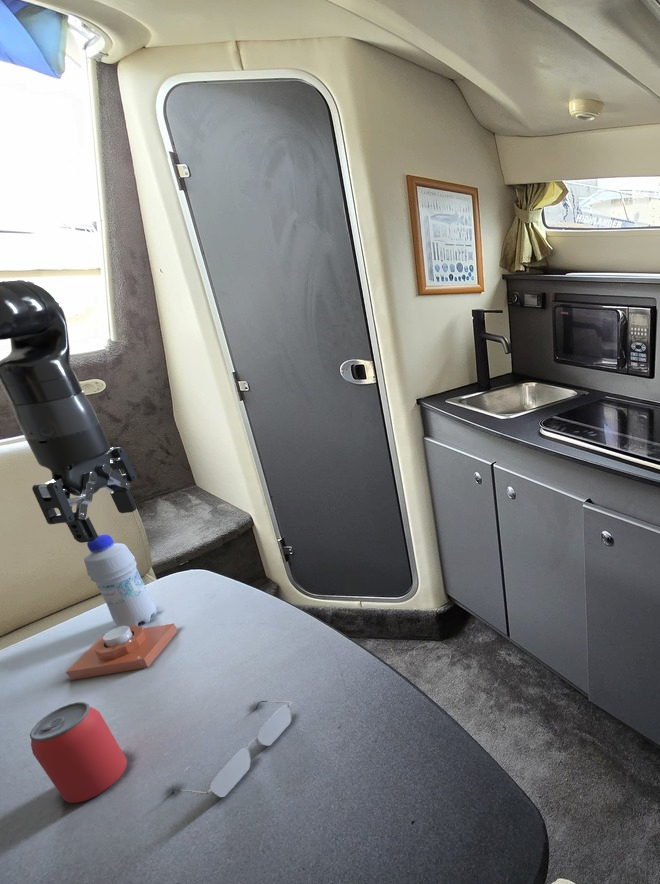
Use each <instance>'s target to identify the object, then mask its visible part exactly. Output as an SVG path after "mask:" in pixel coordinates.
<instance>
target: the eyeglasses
mask: <svg viewBox="0 0 660 884" xmlns="http://www.w3.org/2000/svg"><path fill="white" fill-rule="evenodd" d="M261 703H280V704H281V703H282V705H281V706H280V707H279V708H278V709H276V711H275V712H274V713H273V714H272V715H271V716H270V717H269V718H268V719H267V720H266V721H265V723H264V724H262V726H261V727H260V729H259V730H258V732H257V733H256V737H255V738H253V739H252V740H251V741H250V742H249V743H248V745H247V746H245V747H243V748H241V749H240V750H238V751H237V752H236V753H235V754H234V755H233V756H232V757H231V759H230V760H228V762H227V763H226V764H225V765H224V766H223V767H222V768H221V769H220V770H219V772H218V773H217V774H216V775H215V777H214V778H213V779H212V780H211V782H210V784H209V789H208V790H207V791H199V790H190V789H181V788H178V787H177V788H176V787H173V788H172V793H175V790H176V791H180V792H181V791H183V792H189V793H194V794H201V795H209V794H210V793H213V794H214V795H215V796H217V797H219V798H224V797H226V796H227V795H228V793H230V792H231V791H232V789H233V788H234V787H235V786H236V785H237V784H238V783H239V782H240V780H241V779H242V778H243V777H244V776H245V775H246V773H247V772H248V771H249V770H250V768H251V760H252V759H251V752H250V749H249V747H250V745H251V744H252V743H253V742H254V741H255V743H256V744H257V745H263V746H267V747H269V746H272V745H273V743H274V742H275V741H276V740H277V739H278V738H279V736H280V735H281V734H282V733H283V732H284V731H285V730H286V729H287V728H288V726H289V725H290V724H291V722H292V711H291V705H292V701H283V700H282V701H281V700H280V701H279V700H261V701H259V702H258V703H257V704H256V706H255V709H256V710H257V709H258V707H259V705H260V704H261Z"/></svg>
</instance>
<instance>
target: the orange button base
mask: <svg viewBox="0 0 660 884" xmlns="http://www.w3.org/2000/svg"><path fill="white" fill-rule="evenodd" d="M129 628H130V630H131V632H132V634H133V636H132V637H131V638H130V639H129V640H127V641H126V642H124V643H122V644H120V645H117V646H115V647H107V646H106V644H105V642H104V640H103V636H104V635H105V634H106V633H104V634H102V635H101V636H100V637H99V638H98V639H97V640H96V641H95V642H94V643H93V644H92V645H91V646H90V647H89V648H88V649H87V650H86V651H85V652H84V653H83V654H82V655H81V656H80V657H79V658H78V659H77V660H76V661H75V662H74V663H73V664H71V666H70V667H68V669H66V671H65V673H66V675H67V677H68V678H69V680H70V681H74V680H79V679H80V680H81V679H86V678H92V677H97V676H104V675H110V674H116V673H122V672H128V671H134V670H139V669H140V670H141V669H145V668H149V667H150V666H151V664H152V663H153V662H154V661H155V660H156V658H157V657H158V656H159V655H160V653H161V652H162V651H163V650H164V648H166V647H167V645H168V644H169V643H170V641H171V640H172V639H173V637H174V636H175V635H176V634H177V633H178V628H177V626H176V624H175V623H167V624H162V625H155V626H154V625H153V626H148V627H143V626H141V625H138V626H137V625H135V626H129Z"/></svg>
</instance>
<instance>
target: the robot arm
mask: <svg viewBox="0 0 660 884" xmlns="http://www.w3.org/2000/svg"><path fill="white" fill-rule="evenodd" d="M3 340H10V346H11V347H10V348H11V349H10V350H11V352H10V353H9V354H8V355H7V356H6V357H4V358H2V359H1V360H0V385H1V388H2V389H3V392H4V393H5V395H6V397H7V399H8V401H9V403H10V405H11V407H12V411H13V414H14V417H15V420H16V422H17V424H18V426H19V428H20V430H21V432H22V435H23V436H24V438H25V440H26V442H27V444H28V446H29V448H30V450H31V452H32V454H33V456H34V458H35V459H36V462H37V464H38V465H39V466H40V467H43V468H46V469H48V470H49V471H50V473H51V480H49V481H47V482H42V483H38V484H37V483H36V484H33V485H32V488H31V489H32V492H33V495H34V497H35V499H36V501H37V503H38V505H39V508H40V510H41V512H42V515H43V516H44V518H45V521H46V523H47V524H48V525H58V524H66V525H67V527H68V530H69V531H70V533H71V535H72V537H73V539H74V540H75V541H76V542H78V543H80V544H82V543H84V544H85V543H88V542H92V541H94V540H96V539H97V538H98V536H99V534H98V533H97V531H96V529H95V526H94V525H93V523H92V520H91V519H90V516H87V515H88V507H89V504H91V503H92V502H93V496H94V495H95V493H97V492H99V491H100V489H103V488H104V489H106V490H108V491H109V492H110V497H111V499H112V500H113V503H114V505H115V507H116V509H117V511H118V513H120V514H129V513H133V512H135V511H136V510H137V508H138V507H137V505H136V501H135V499H134V496H133V494H132V491H131V488H132V484H131V483H132V482H133V481H137V479H138V476H137V473H136V471H135V468H134V467H133V465H132V463H131V461H130V458H129V457H128V455H127V453H126V451H125V449H124V447H122V446H118V447H112V446H111V444H110V442H109V440H108V437H107V436H106V433H105V431H104V429H103V426H102V424H101V422H100V420H99V418H98V415H97V413H96V411H95V408H94V406H93V404H92V403H91V402H90V399H88V396H87V395H86V394H85V392H84V390H83V388H82V385H81V382H80V380H79V378H78V376H77V374H76V373H75V370H74V368H73V366H72V364H71V353H70V352H71V350H70V349H71V347H70V340H69V333H68V325H67V318H66V316H65V311H64V310H63V307H62V306H61V304H60V302H59V301H58V300H57V298H55V296H54V295H53V294H52V293H51V292H50V291H49V290H47V289H46V288H45V287H43V286H42V285H40V284H38V283H35V282H32V281H29V280H24V279H23V280H22V279H7V280H0V341H3ZM121 470H123V471H124V473H123V474H122V472H121ZM71 495H72V496H75V497H71ZM73 506H76V507H75V511H73ZM55 509H57V510H58V511H59V514H57V511H56V510H55Z"/></svg>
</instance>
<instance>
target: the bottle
mask: <svg viewBox="0 0 660 884" xmlns="http://www.w3.org/2000/svg"><path fill="white" fill-rule="evenodd" d="M86 545H87V548H88V550H89V551H90V552H88V553H87V554H86V555H85V556H84V557H83V562H84V565H85V569H86V572H87V576H88V577H89V578H90V581H92V582H94V583H95V585H96V586H97V588H98V590H99V592H100V594H101V596H102V599H103V600H104V602H105V604H106V606H107V608H108V611H109V614H110V616H111V619H112V621H113V623H114V624H115V625H116V626H117V627H120V626H135V625H137V626H139V624H140V623H141V622H143V623H144V624H147V623H149V622H150V621H151V618H153V617H155V616H156V614H157V606H156V603H155V601H154V599H153V597H152V596H151V595H150V592H149V590H148V589H147V588H146V585H145V583H144V580H143V579H142V577H141V574H140V573H139V570H138V568H137V564H138V563H137V561H136V558H135V556H134V554H133V553H132V552H131V550H130V549H129V548H128V546H127V545H126V544H124V543H119V542H117V543H115V542H114V540H113V538H112V536H111V535H110V534H98V538H97V539H96V540H94V541H92V542H86Z"/></svg>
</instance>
